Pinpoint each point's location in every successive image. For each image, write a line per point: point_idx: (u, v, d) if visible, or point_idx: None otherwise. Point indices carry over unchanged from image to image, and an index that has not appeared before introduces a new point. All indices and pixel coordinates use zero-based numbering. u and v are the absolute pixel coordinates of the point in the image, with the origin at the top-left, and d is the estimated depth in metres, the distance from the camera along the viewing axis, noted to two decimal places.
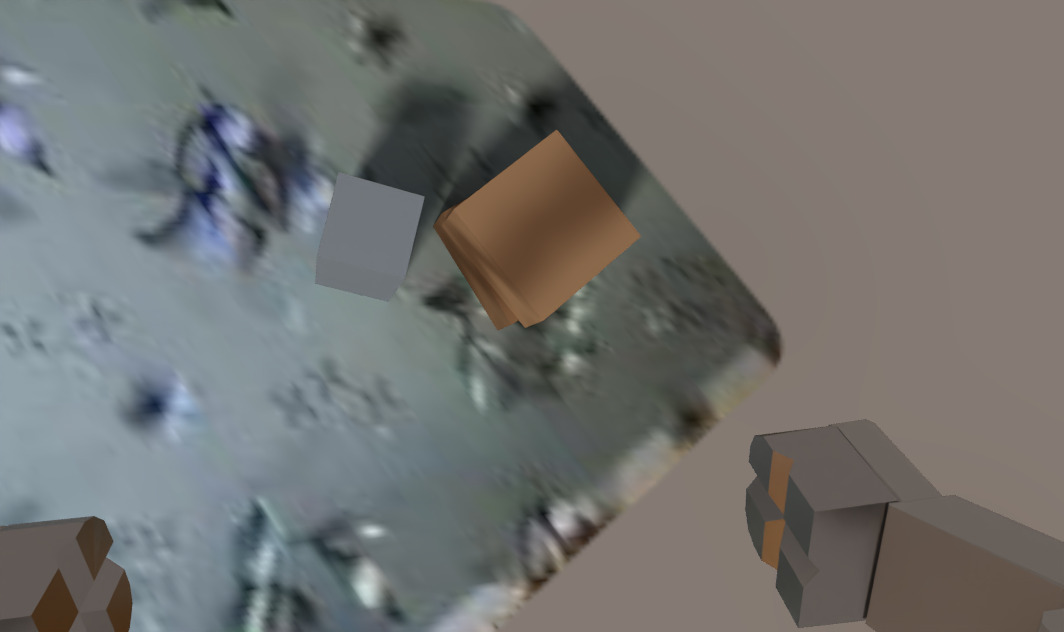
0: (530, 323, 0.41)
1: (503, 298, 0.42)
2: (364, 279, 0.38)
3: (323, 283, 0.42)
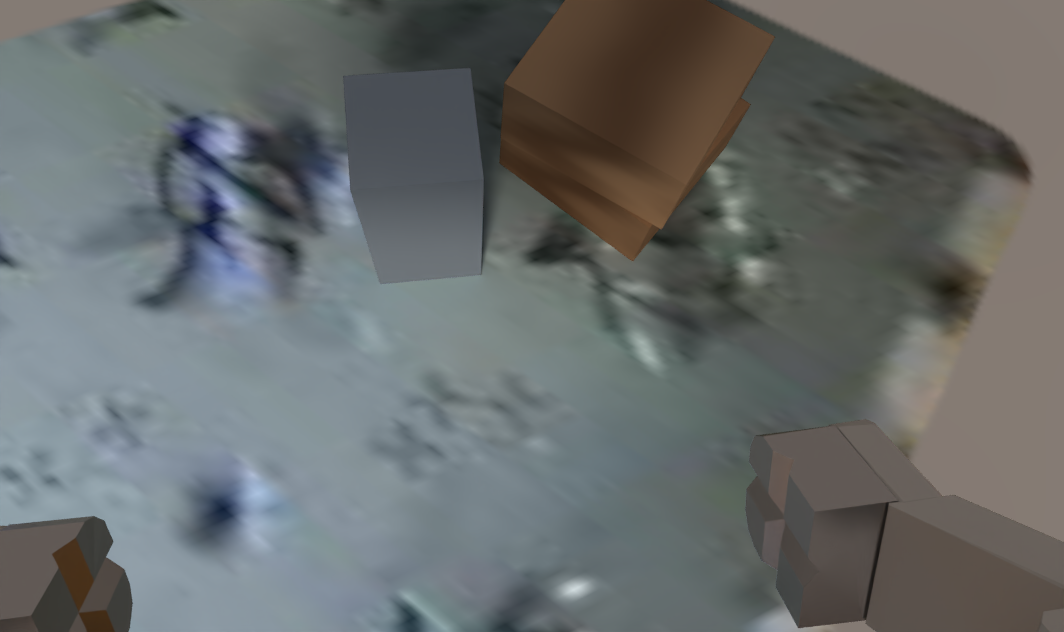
0: (667, 212, 0.28)
1: (617, 199, 0.29)
2: (433, 224, 0.26)
3: (389, 276, 0.30)
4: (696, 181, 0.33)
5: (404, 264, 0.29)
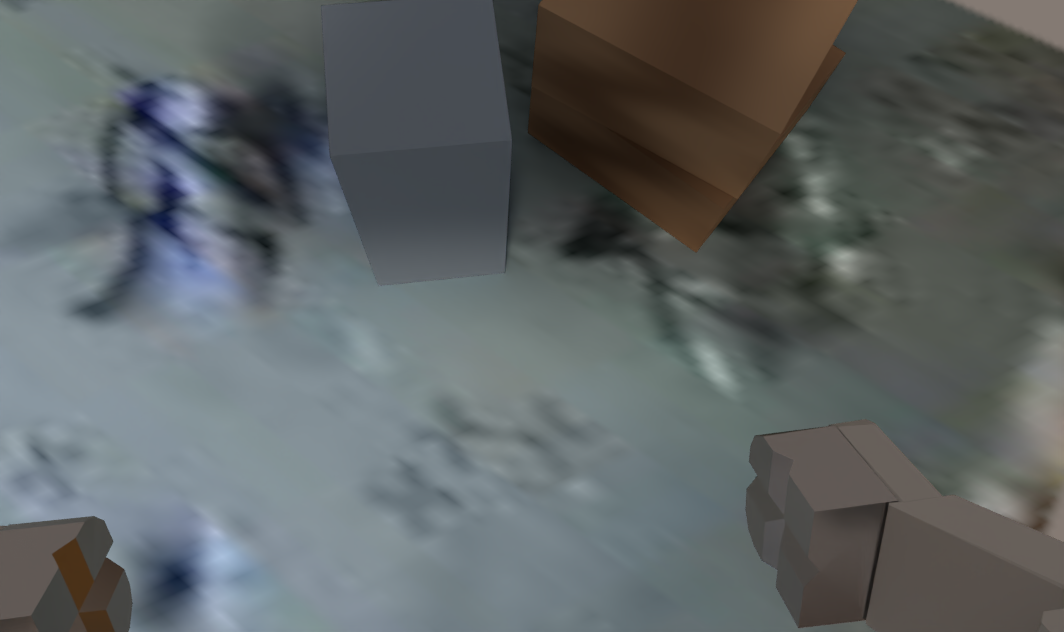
0: (749, 174, 0.21)
1: (681, 160, 0.23)
2: (444, 205, 0.20)
3: (389, 275, 0.24)
4: (772, 153, 0.26)
5: (408, 260, 0.23)
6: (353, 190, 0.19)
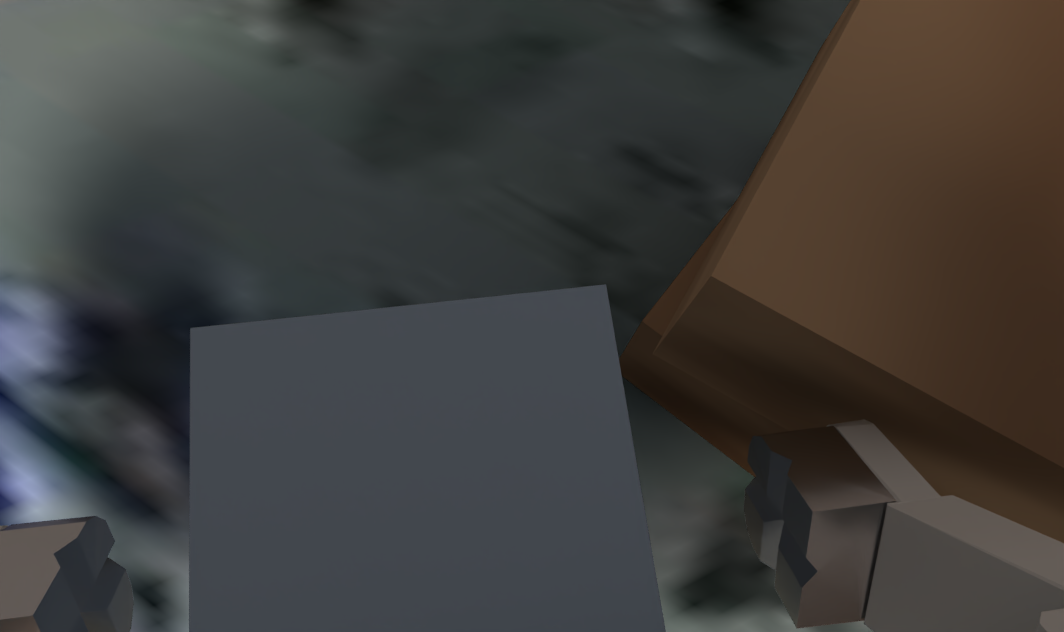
0: None
1: None
2: None
3: None
4: None
5: None
6: None
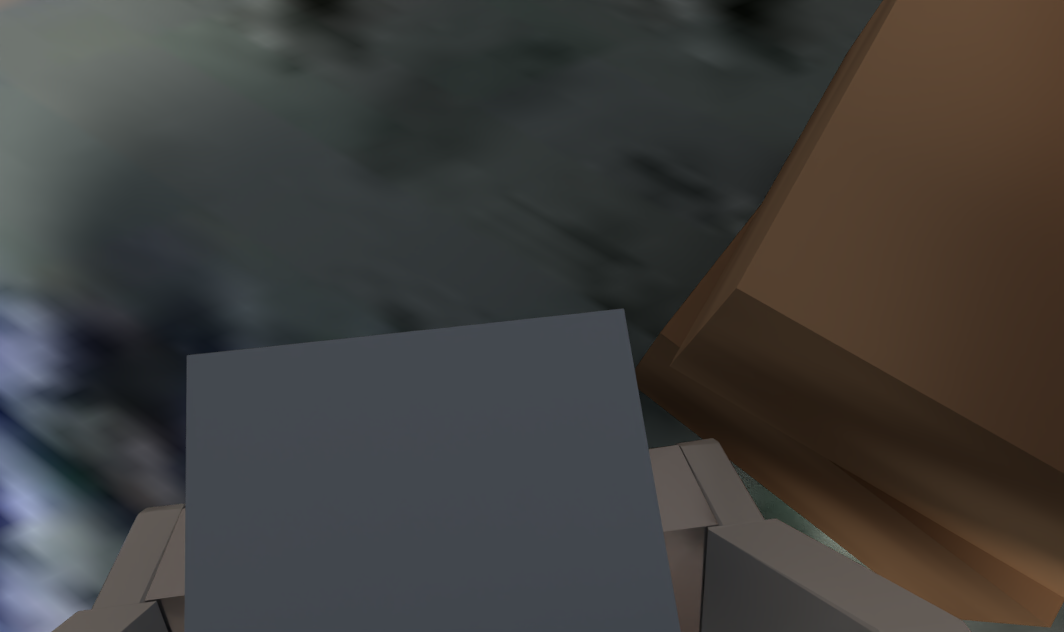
0: None
1: (979, 539, 0.11)
2: None
3: None
4: None
5: None
6: None
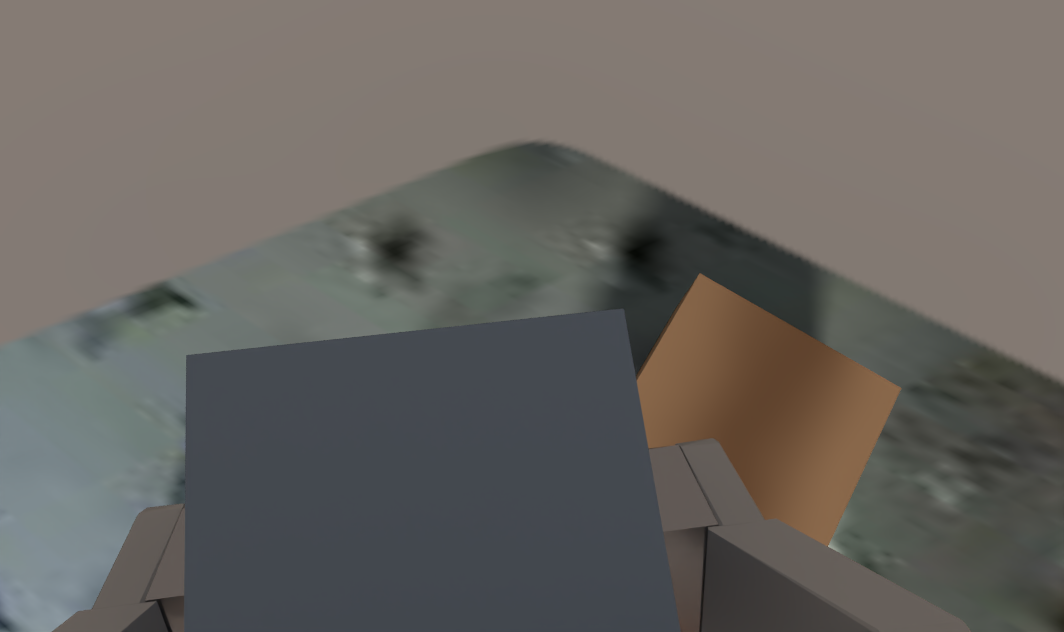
0: None
1: None
2: None
3: None
4: None
5: None
6: None
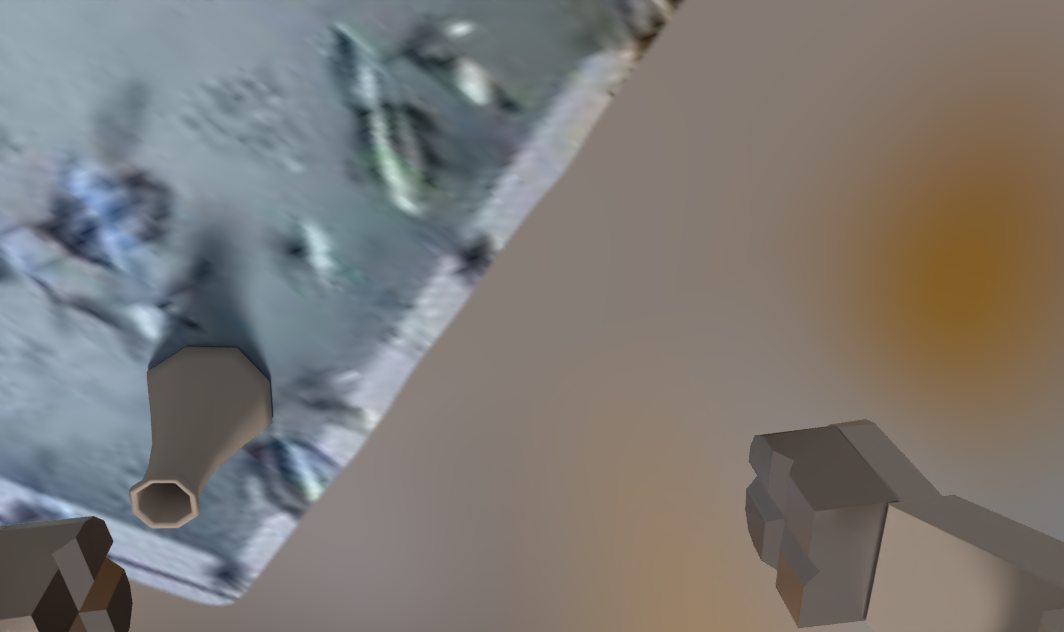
0: None
1: None
2: None
3: None
4: None
5: None
6: None
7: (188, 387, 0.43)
